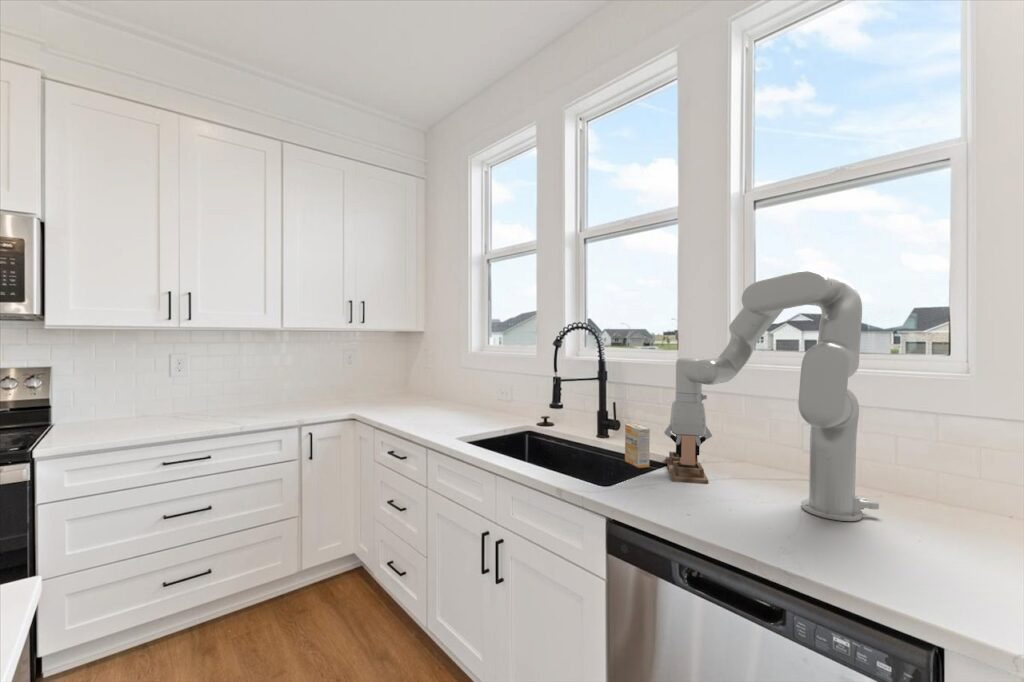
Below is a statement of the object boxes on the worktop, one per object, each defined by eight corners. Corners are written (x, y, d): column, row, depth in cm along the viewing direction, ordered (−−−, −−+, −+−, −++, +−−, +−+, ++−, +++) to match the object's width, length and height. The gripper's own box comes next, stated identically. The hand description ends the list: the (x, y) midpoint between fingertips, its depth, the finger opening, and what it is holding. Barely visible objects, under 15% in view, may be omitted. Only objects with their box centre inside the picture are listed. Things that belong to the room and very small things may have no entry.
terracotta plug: (693, 461, 147) (693, 433, 147) (695, 465, 143) (695, 436, 143) (679, 460, 148) (680, 432, 148) (681, 464, 144) (681, 435, 144)
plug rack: (696, 461, 162) (696, 438, 161) (708, 483, 138) (708, 456, 138) (665, 459, 164) (665, 437, 164) (672, 481, 141) (672, 454, 140)
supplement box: (624, 461, 162) (624, 423, 161) (636, 460, 163) (636, 423, 163) (637, 468, 154) (637, 428, 154) (650, 467, 155) (650, 427, 155)
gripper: (715, 397, 147) (714, 455, 147) (659, 395, 150) (658, 452, 151) (719, 401, 139) (718, 462, 140) (660, 398, 143) (660, 458, 144)
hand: (687, 456), depth 145 cm, fingers closed on terracotta plug, 4 cm apart
